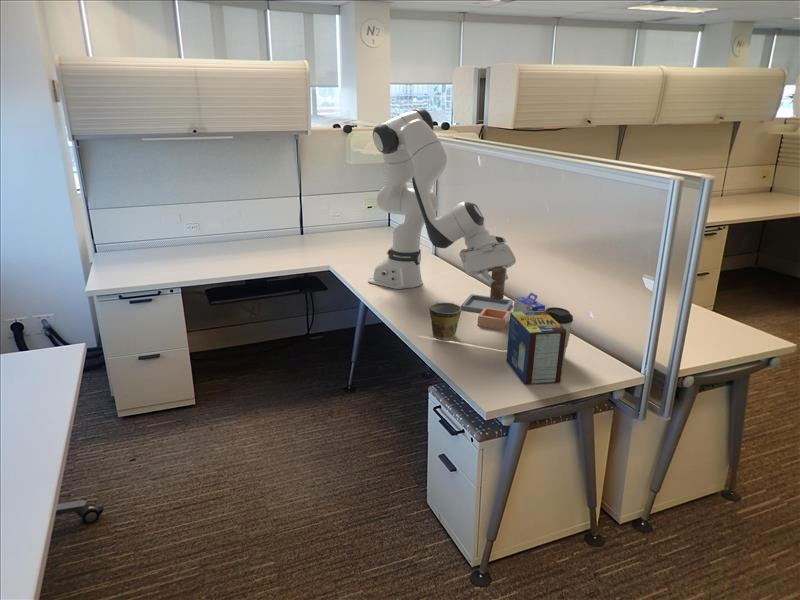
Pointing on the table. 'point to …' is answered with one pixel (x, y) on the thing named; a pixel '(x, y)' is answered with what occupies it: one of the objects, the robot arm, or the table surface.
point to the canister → (498, 283)
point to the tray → (485, 303)
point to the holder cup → (494, 318)
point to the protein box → (535, 347)
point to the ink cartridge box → (527, 304)
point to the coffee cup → (562, 321)
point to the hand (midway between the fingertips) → (499, 281)
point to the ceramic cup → (444, 320)
